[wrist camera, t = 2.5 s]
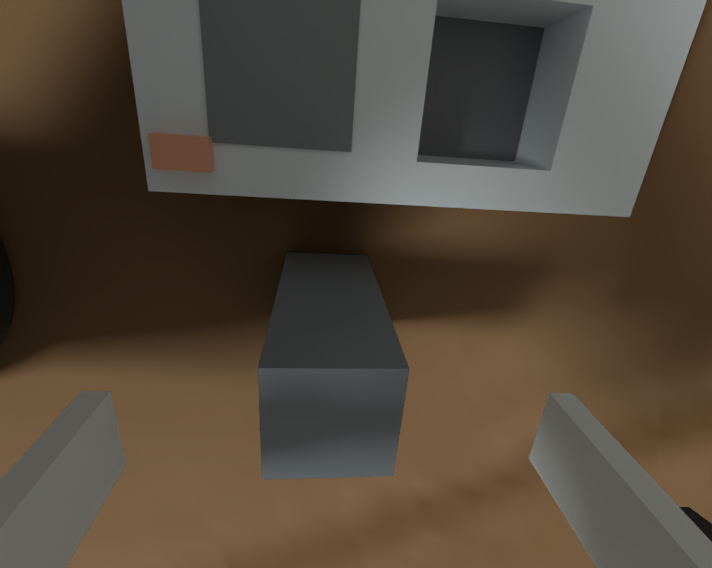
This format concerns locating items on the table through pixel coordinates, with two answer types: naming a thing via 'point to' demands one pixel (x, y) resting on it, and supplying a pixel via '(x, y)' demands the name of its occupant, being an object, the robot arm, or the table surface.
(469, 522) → the table surface
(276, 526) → the table surface
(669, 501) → the robot arm
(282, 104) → the power strip
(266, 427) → the block
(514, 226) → the table surface
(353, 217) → the table surface
